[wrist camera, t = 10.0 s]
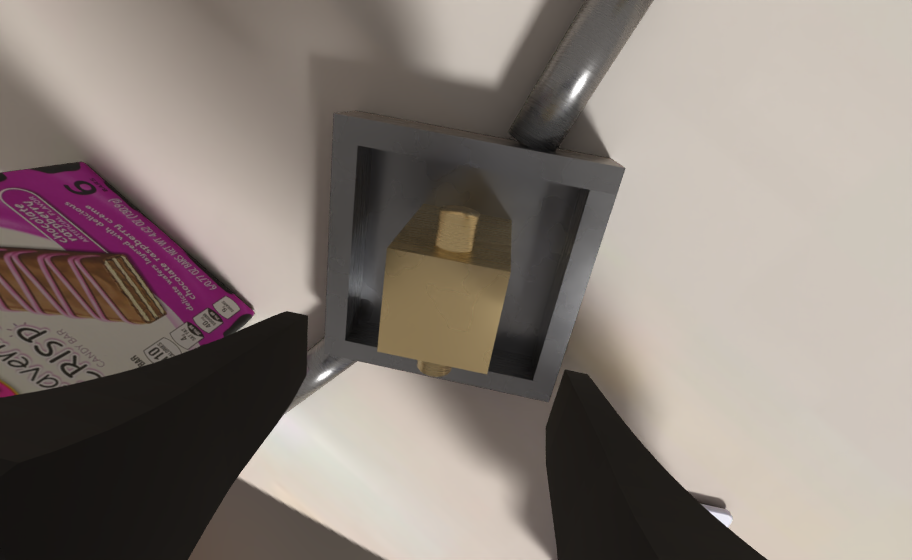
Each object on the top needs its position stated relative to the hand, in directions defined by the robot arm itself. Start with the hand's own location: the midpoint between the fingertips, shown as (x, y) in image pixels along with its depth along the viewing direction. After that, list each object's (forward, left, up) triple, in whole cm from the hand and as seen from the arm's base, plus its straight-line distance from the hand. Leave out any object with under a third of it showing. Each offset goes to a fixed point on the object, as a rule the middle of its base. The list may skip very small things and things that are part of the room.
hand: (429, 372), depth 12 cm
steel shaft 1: (-8, +7, -9) cm, 14 cm away
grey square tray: (0, 0, -9) cm, 9 cm away
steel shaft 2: (+9, -3, -9) cm, 13 cm away
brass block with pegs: (0, 0, -9) cm, 9 cm away
